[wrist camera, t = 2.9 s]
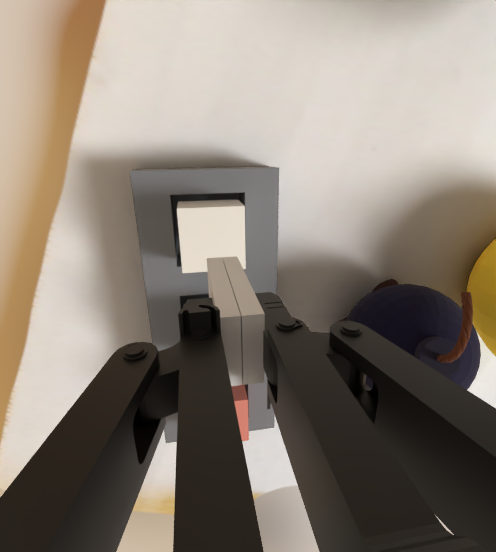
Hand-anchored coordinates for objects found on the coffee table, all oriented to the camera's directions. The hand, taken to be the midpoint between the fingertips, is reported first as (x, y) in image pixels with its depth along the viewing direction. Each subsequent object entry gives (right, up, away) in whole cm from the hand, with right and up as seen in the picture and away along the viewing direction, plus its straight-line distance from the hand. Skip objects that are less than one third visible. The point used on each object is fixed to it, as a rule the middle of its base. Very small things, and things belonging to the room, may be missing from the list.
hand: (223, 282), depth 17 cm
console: (-3, -3, +18) cm, 19 cm away
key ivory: (-2, +4, +12) cm, 13 cm away
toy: (+15, -3, +22) cm, 27 cm away
